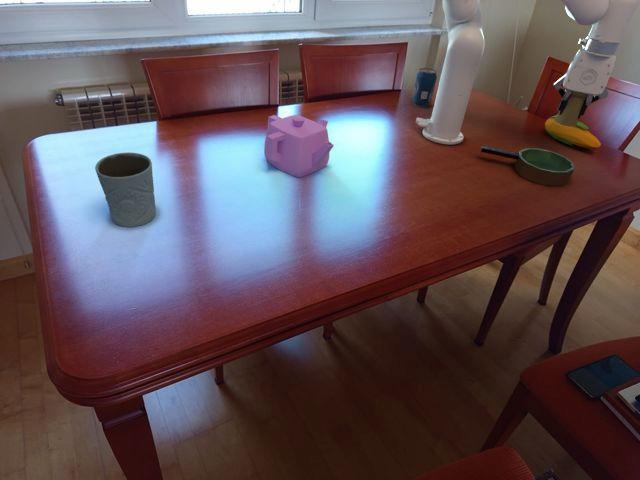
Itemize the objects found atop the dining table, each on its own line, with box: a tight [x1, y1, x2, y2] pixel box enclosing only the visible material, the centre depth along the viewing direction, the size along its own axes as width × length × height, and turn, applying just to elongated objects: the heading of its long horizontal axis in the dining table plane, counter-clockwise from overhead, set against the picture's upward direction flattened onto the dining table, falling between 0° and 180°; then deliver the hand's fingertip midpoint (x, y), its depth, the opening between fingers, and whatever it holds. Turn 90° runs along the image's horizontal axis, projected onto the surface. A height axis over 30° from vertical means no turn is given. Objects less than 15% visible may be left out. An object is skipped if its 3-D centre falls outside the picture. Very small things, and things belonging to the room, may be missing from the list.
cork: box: [554, 91, 589, 127], centre depth 122 cm, size 6×6×11 cm
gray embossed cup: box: [94, 152, 157, 228], centre depth 87 cm, size 10×10×12 cm
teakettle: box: [264, 114, 335, 178], centre depth 111 cm, size 17×17×12 cm
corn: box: [544, 115, 602, 150], centre depth 137 cm, size 7×8×20 cm
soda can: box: [411, 67, 438, 108], centre depth 156 cm, size 7×7×12 cm
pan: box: [480, 144, 575, 187], centre depth 121 cm, size 24×14×4 cm, turn 69°
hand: (569, 114), depth 124 cm, fingers closed on cork, 4 cm apart
